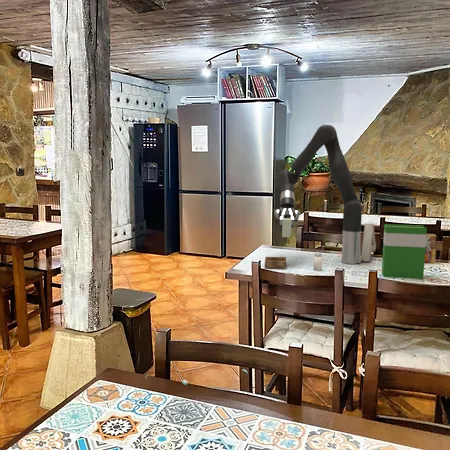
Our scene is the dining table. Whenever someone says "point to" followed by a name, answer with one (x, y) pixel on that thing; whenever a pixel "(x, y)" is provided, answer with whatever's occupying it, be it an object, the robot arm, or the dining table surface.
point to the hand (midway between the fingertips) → (286, 226)
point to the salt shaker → (318, 261)
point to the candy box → (430, 248)
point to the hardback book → (404, 251)
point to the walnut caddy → (275, 262)
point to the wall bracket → (368, 243)
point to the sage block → (286, 227)
